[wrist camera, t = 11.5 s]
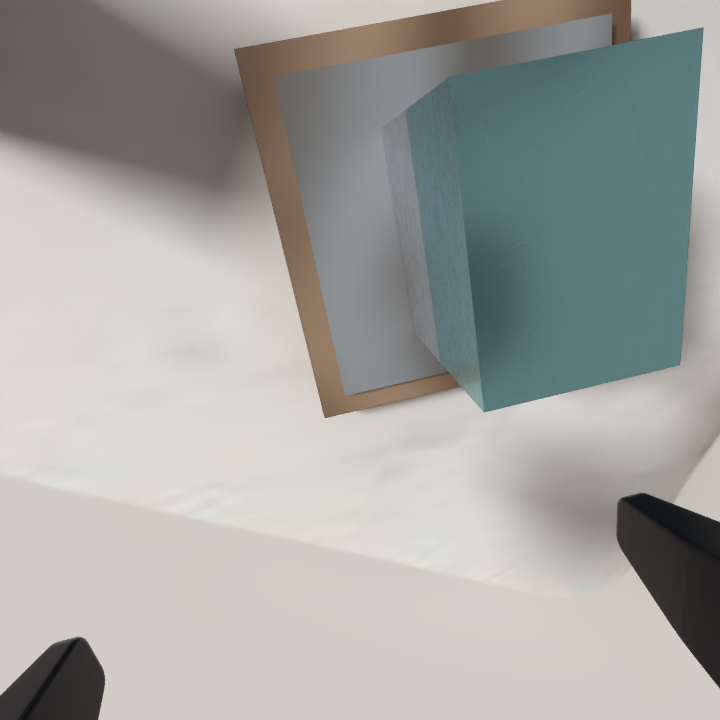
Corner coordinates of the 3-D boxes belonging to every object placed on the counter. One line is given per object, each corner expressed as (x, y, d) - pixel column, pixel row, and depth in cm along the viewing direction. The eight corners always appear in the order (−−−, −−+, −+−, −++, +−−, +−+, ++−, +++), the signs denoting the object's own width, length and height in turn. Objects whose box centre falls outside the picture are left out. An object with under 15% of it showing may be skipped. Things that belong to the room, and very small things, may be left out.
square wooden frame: (593, 1, 17) (642, -31, 14) (594, 334, 21) (631, 351, 19) (240, 66, 16) (231, 44, 14) (321, 397, 21) (325, 423, 18)
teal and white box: (380, 128, 15) (448, 76, 8) (526, 99, 15) (703, 27, 9) (412, 330, 17) (483, 412, 11) (537, 302, 18) (680, 364, 11)
